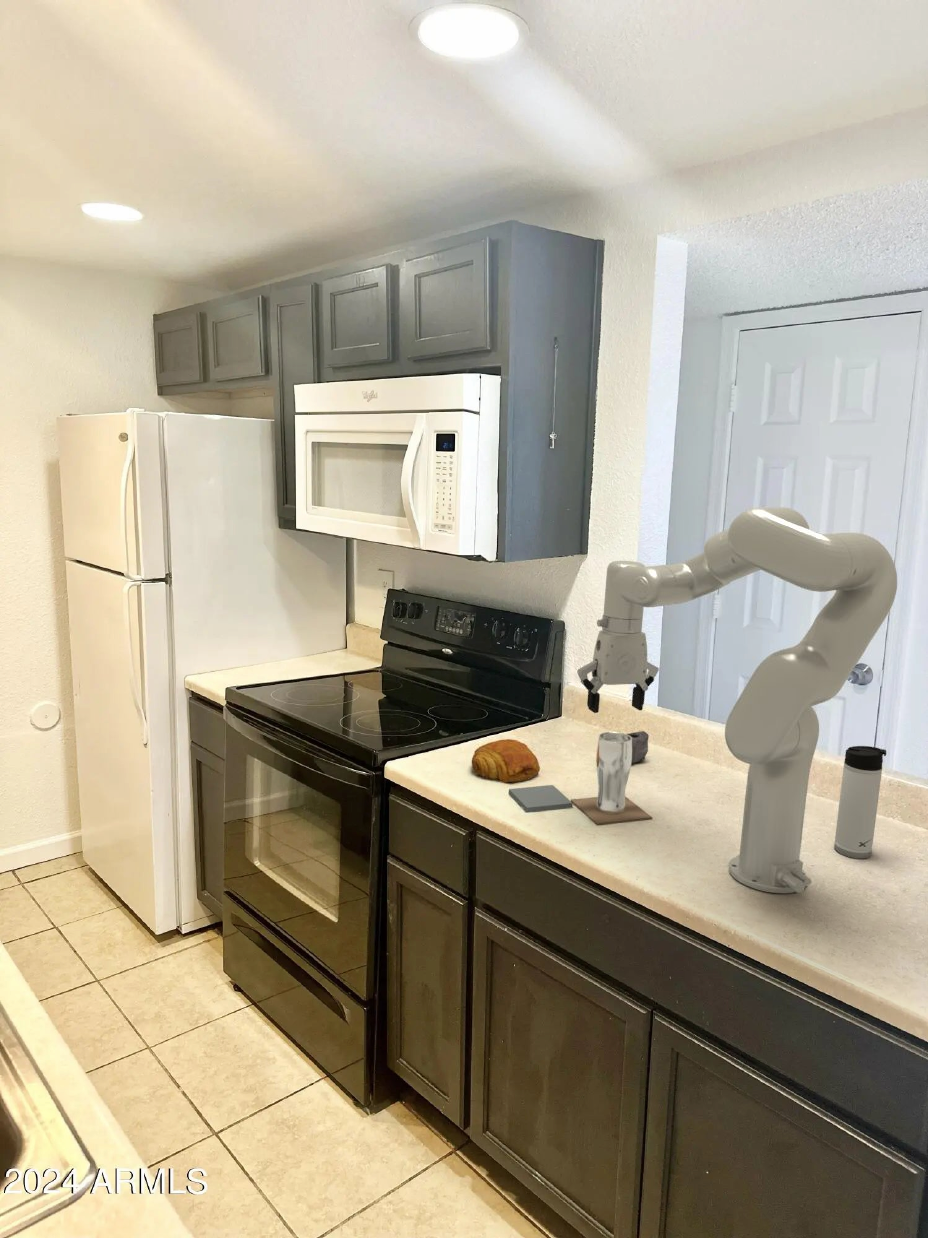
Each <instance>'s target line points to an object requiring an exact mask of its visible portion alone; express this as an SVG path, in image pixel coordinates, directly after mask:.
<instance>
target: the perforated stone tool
mask: <svg viewBox="0 0 928 1238" xmlns="http://www.w3.org/2000/svg"><path fill="white" fill-rule="evenodd" d="M626 734H627V735H629V736H631V737H632V762H631V765H632V764H635V763H638V762H640V761H643V760H645V759H646V756H647V754H648V752H649V743H648V742H649V737H650V735H649V733H647V732H646V731H645V730H642V731H636V732H630V733H626Z"/></svg>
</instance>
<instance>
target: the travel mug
mask: <svg viewBox="0 0 928 1238" xmlns="http://www.w3.org/2000/svg"><path fill="white" fill-rule="evenodd" d="M886 756H887V750H886V749H883V748H879V747H875V746H871V745H870V746H867V745H854V746H850V747H848V748H847V749H846V750H845V756H844V757H845V758H844V761H843V768H842V778H841V785H840V794H839V803H838V812H837V819H836V826H835V828H836V829H835V836H834V844H833V845H834V846H833V848H834V850H835V851H836V852H838V854H841V855H843V856H845V857H847V858H853V859H858V860H859V859H860V860H861V859H863V860H864V859H867V858H870V857H871V856H872V850H873V844H874V836H875V829H876V821H877V815H878V814H877V813H878V806H879V796H880V789H881V782H882V774H883V773H882V771H883V764H884V763H883V762H884V759H883V758H884V757H886Z"/></svg>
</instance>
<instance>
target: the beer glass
mask: <svg viewBox="0 0 928 1238" xmlns="http://www.w3.org/2000/svg"><path fill="white" fill-rule="evenodd" d="M627 734H628V733H624V732H618V731H605V732H604V731H603V732H601V733H599V735H598V740H597V747H596V753H595V754H596V757H595V758H596V759H595V763H596V773H597V783H598V792H597V796H596V797H597V801H596V805H595V806H596V808H597V809H598V810H599V811H601V812H604V813H608V814H620V813H623V812H625V810H626V803H625V797H626V788H627V785H628V780H629V776H630V774H631V773H630V772H631V767H632V764H631V762H632V737H631V736H629V735H627Z"/></svg>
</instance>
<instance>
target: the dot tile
mask: <svg viewBox="0 0 928 1238" xmlns="http://www.w3.org/2000/svg"><path fill="white" fill-rule="evenodd" d="M597 797H598V796H593V797H592V796H591V797H584V798H583V797H582V798H574V799H572V798H571V799H570V801H571V802H572V803H573V805H574V806H575V807H576V808H578V810H580V811H581V813H583V814H584V815H585V816H586V817H587V818H588V819H590V820H591V821H592V822H593V823H594V824H595V825H597V826H602V825H603V826H604V825H610V824H620V823H629V822H638V821H639V822H640V821H646V820H647V821H648V820H653V817H652V816H651V815H650V814H649V813H647V812H646V811H645V810H643V809H642V808H641V807H640V806H638V804H636V803H635V802H633V801H632V800H630V799H629V798H628V797H627V796H625V803H626V810H625V812H623V813H620V814H608V813H604V812H601V811H599V810H598V809H597V808H596V806H595V805H596V801H597Z"/></svg>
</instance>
